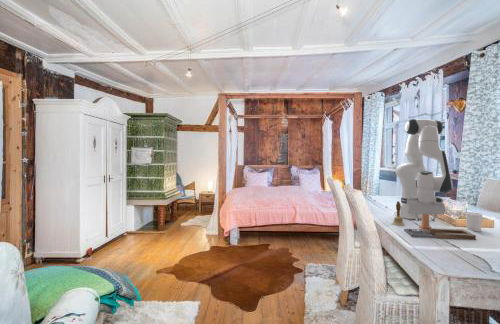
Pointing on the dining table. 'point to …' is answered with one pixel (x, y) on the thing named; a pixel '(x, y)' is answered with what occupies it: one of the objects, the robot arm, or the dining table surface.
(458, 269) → the dining table surface
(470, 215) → the white cup
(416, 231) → the grey square block
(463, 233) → the slot board
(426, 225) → the stepped wedge block
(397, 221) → the hand bell
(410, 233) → the tray
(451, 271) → the dining table surface
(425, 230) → the light grey block
